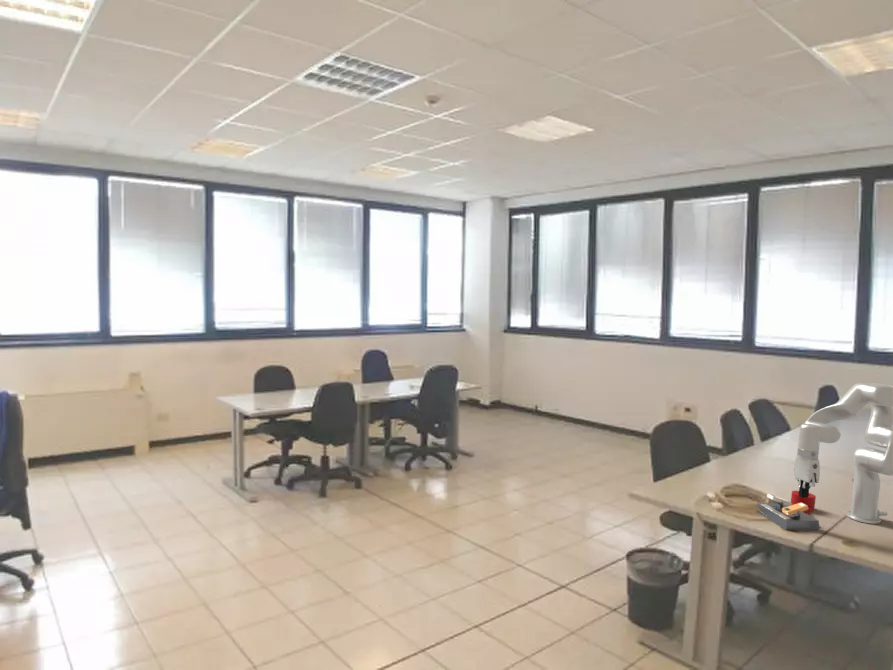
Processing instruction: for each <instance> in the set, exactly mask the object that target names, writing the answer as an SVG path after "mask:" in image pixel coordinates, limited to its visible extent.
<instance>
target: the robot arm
mask: <svg viewBox="0 0 893 670" xmlns="http://www.w3.org/2000/svg"><path fill="white" fill-rule="evenodd" d="M868 404H869V406H870V417H869V418H868V422H867V425H866V428H865V432H864V438H863V439H864V440H865V443H868V444H869V445H872V446H875V447H879V448H883V449H885V450H881V449H878V448H873V447H868V446H859V447H857V448H856V449H855V450H854V452H853V454H852V460H853V461H852V462H853V470H854V472H853V484H852V496H851V505H850V506H851V507H850V510H848V511H847V512H845V515H846V517H848V519H851V520H853V521H856V522H861V523H865V524H871V525H872V524H874V525H877V524H880V523H882V519H881V517H886V516H888V512H887V511H885V510H883V511H882V510H880V509H879V500H880V489H881V477H880V475H879V474H881V475H884V476H888V477H891V476H892V477H893V385H892V384H887V383H883V382H882V383H880V382H870V383H868V382H856V383H855V384H853V385H852V386H851V387H850V388H849V389H848V390H847V391H846V392H845V393H844V394H843V395H842V396H841V397H840V398H839V399H838V401H836V402H835V403H834V404H831V405H828V406H825V407H823V408H820V409H819V410H816V411H815V412H814V413H812V414H811V415H810V416H809V417H808V418H807V419H806V420H805V422H804V423H801V424H800V427H799V434H798V445H797V453H796V454H797V455H796V457H795V463H794V467H793V476H794V479H795V480H796V481H797V483H798V487H799V489H798V491H799V496H800V497H806V498H808V495H809V493H810V489H811V487H816V484H819V483H820V482H819V481H820V474H821V472H820V471H821V470H820V469H821V468H820V467H821V466H820V459H819V453H820V443H825V444H834V443H835V444H836V443H837V442H838V441H840V438H841V431H840V430H839V428H837V427H836V426H835V425H831V424H828V423H830V422H833V421H842V420H850V419H853V418H855V417H856V416H857V415H858V414H859V413H860V412H861V411H862V410H863V408H865V407H866V406H867V405H868Z"/></svg>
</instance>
